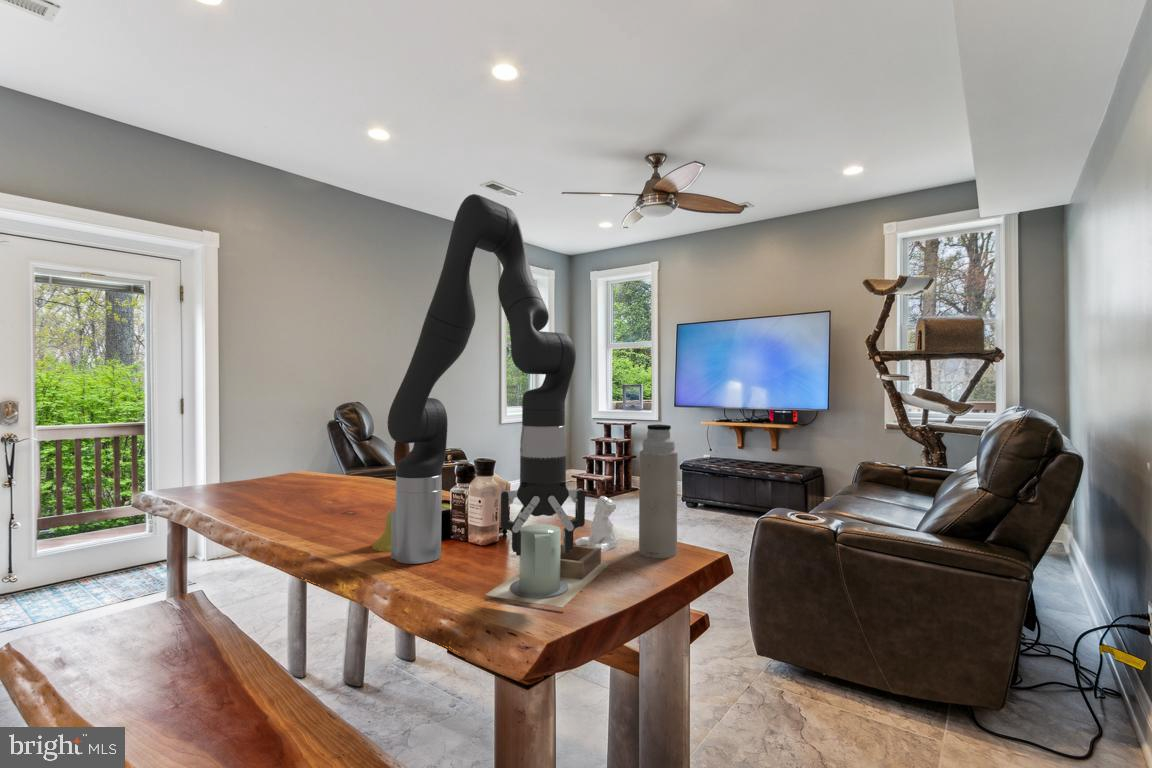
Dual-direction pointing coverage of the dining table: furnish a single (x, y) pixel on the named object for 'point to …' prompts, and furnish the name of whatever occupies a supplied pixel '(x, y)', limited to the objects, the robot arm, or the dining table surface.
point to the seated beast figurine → (601, 527)
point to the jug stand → (573, 578)
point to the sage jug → (540, 559)
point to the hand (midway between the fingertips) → (542, 553)
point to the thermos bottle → (658, 494)
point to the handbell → (385, 540)
